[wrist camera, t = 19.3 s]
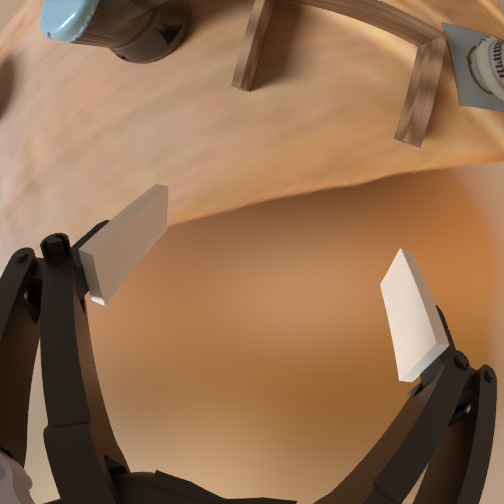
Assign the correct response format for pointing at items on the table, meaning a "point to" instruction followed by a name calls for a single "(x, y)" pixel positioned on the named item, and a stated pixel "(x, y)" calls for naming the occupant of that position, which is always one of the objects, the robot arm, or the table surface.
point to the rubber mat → (466, 88)
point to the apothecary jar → (487, 65)
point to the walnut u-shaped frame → (379, 15)
